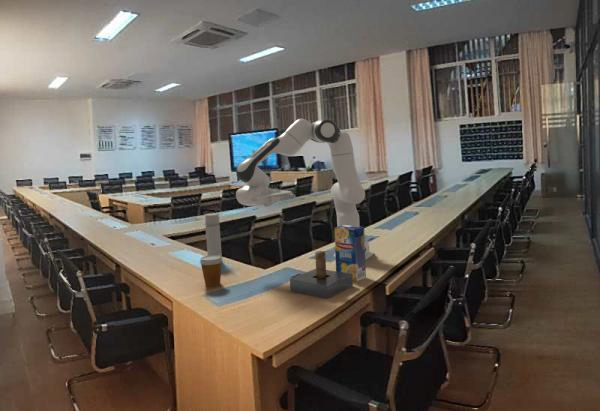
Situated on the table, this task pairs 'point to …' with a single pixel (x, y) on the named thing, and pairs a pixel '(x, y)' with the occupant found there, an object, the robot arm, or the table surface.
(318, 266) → the walnut pin
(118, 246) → the table surface
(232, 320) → the table surface
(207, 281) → the disposable coffee cup
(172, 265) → the table surface
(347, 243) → the beverage box
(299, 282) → the socket block
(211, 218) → the water bottle
